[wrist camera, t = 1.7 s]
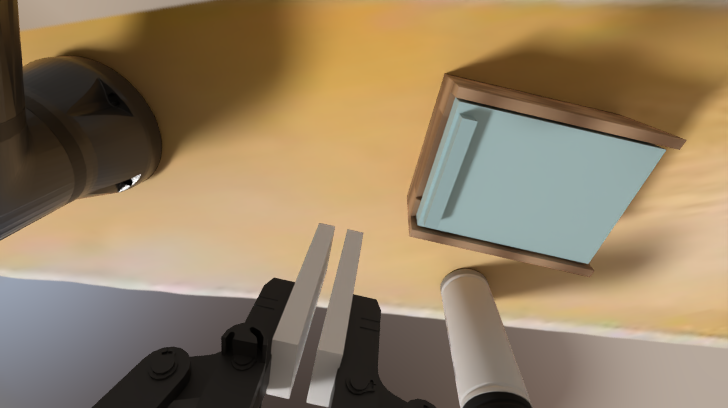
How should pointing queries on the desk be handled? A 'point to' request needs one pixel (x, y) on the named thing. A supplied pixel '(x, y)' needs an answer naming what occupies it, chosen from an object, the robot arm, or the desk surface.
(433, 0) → the desk surface
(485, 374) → the travel mug
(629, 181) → the cover plate
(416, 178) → the box
